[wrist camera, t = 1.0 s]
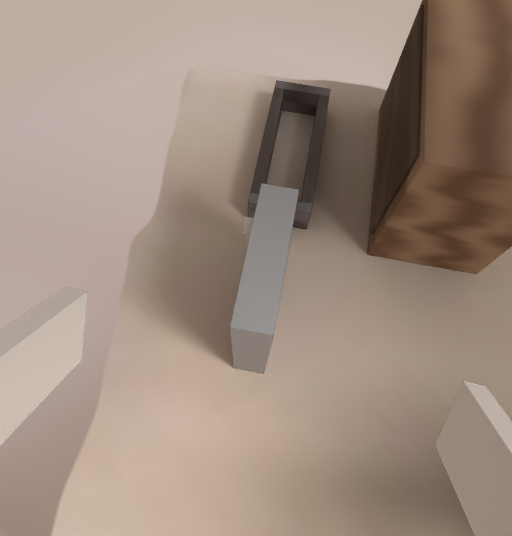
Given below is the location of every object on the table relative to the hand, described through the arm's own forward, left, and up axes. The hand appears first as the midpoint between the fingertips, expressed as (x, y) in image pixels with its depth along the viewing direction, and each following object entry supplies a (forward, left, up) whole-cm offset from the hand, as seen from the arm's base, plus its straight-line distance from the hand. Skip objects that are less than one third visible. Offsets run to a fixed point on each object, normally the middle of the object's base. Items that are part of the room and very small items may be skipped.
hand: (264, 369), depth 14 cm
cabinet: (-21, -24, -27) cm, 42 cm away
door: (-4, -10, -27) cm, 29 cm away
